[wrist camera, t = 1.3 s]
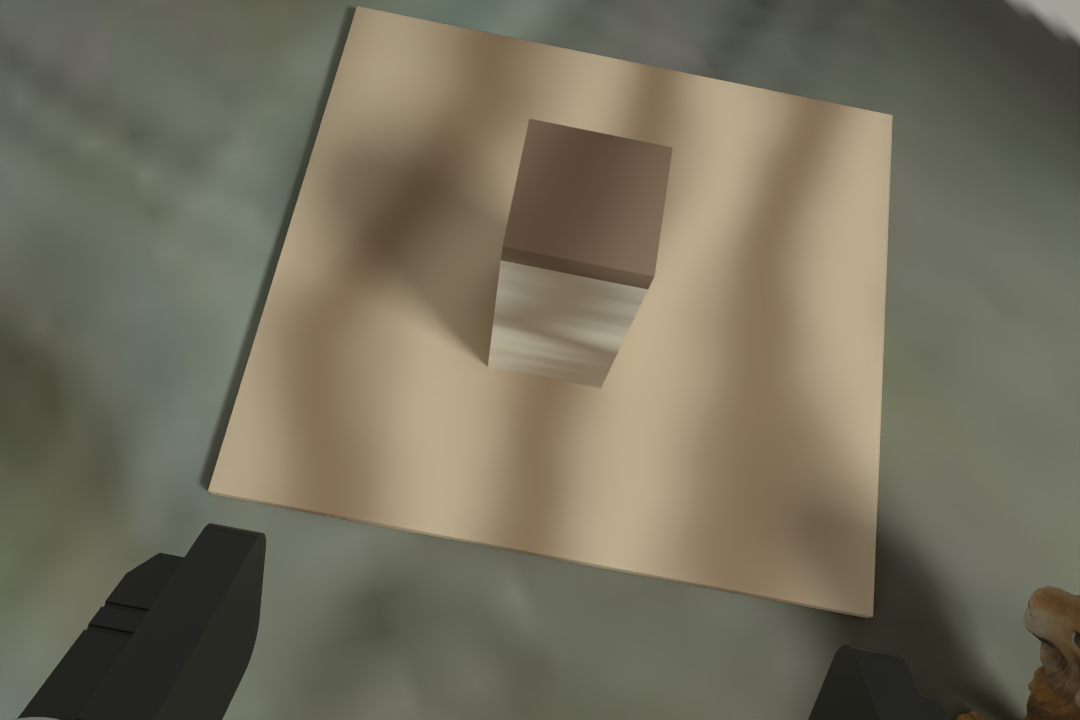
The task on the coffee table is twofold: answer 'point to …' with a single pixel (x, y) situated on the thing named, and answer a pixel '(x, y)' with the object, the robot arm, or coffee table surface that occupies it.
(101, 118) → the coffee table surface
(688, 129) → the wooden board
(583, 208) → the white block
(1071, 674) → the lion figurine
